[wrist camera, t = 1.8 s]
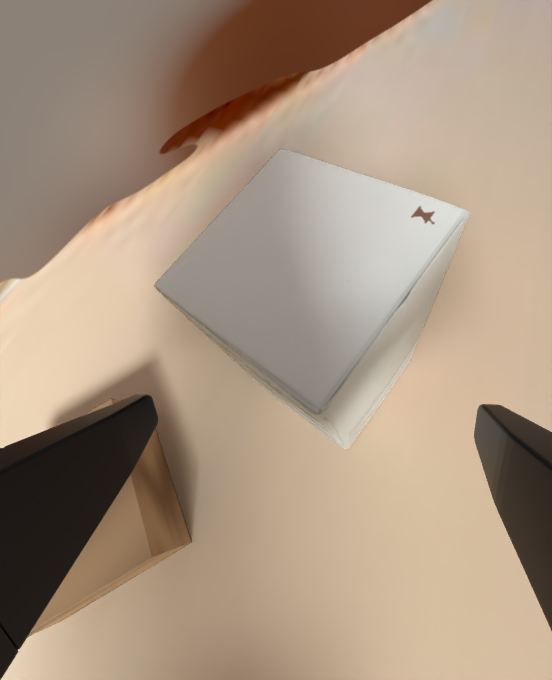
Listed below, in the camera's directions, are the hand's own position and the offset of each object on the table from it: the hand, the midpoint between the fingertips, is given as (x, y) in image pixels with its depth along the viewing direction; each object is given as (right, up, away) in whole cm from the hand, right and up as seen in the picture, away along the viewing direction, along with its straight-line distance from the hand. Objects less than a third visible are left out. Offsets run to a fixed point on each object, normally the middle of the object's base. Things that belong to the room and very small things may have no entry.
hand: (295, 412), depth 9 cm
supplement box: (+3, 0, +12) cm, 13 cm away
